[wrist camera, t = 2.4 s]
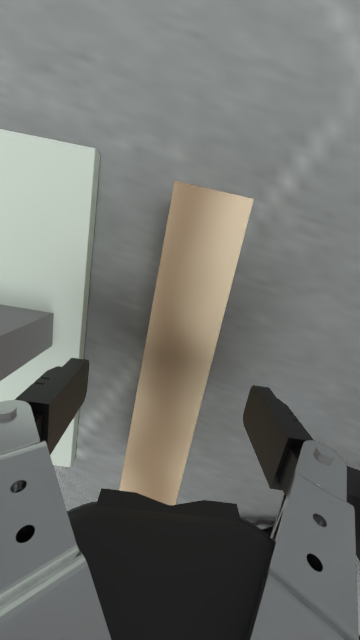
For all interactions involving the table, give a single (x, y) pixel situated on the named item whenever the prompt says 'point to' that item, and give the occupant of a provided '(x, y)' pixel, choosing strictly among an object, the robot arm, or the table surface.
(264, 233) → the table surface
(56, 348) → the fulcrum
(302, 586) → the robot arm
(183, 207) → the plank
